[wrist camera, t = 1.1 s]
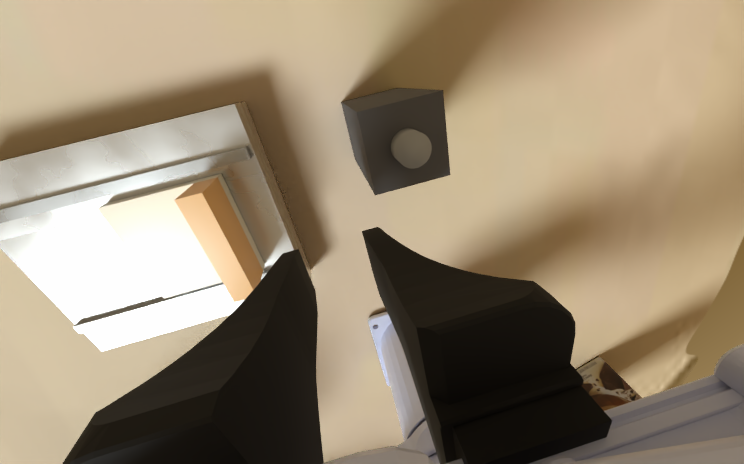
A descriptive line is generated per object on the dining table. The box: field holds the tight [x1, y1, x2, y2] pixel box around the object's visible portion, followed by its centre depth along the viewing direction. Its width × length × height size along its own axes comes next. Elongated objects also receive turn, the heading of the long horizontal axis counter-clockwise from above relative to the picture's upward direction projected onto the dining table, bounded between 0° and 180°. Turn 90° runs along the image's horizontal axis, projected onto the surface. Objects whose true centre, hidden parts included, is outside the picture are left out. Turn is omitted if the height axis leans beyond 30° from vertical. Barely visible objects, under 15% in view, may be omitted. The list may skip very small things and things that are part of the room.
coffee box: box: [577, 357, 642, 411], centre depth 29 cm, size 9×6×16 cm
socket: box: [0, 101, 311, 351], centre depth 18 cm, size 12×14×3 cm
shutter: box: [97, 174, 265, 302], centre depth 15 cm, size 6×6×3 cm
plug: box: [341, 88, 450, 195], centre depth 15 cm, size 4×4×8 cm
